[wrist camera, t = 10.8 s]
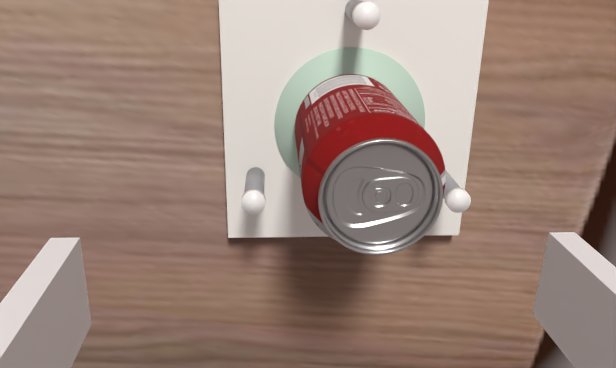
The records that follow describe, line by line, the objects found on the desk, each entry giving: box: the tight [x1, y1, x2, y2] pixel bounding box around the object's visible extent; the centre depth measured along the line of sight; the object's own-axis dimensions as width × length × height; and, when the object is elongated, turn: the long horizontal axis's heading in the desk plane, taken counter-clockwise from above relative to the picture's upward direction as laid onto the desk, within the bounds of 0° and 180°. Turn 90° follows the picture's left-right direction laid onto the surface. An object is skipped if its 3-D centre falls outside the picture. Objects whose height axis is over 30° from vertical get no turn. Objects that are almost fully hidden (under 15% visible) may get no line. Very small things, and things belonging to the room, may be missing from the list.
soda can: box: [295, 74, 446, 255], centre depth 30 cm, size 7×7×12 cm
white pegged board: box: [219, 0, 489, 238], centre depth 34 cm, size 16×16×6 cm
